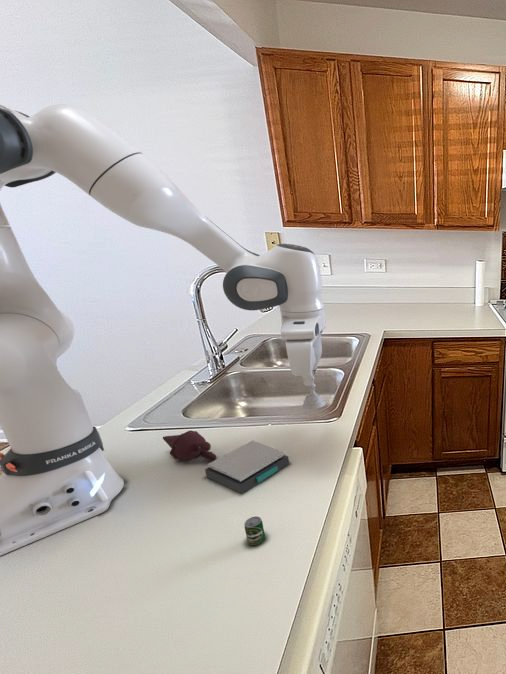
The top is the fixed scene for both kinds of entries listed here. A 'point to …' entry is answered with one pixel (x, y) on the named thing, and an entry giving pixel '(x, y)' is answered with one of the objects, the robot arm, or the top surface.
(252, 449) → the scale pan
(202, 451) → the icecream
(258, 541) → the beer can
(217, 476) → the scale
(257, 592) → the top surface
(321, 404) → the chalice
